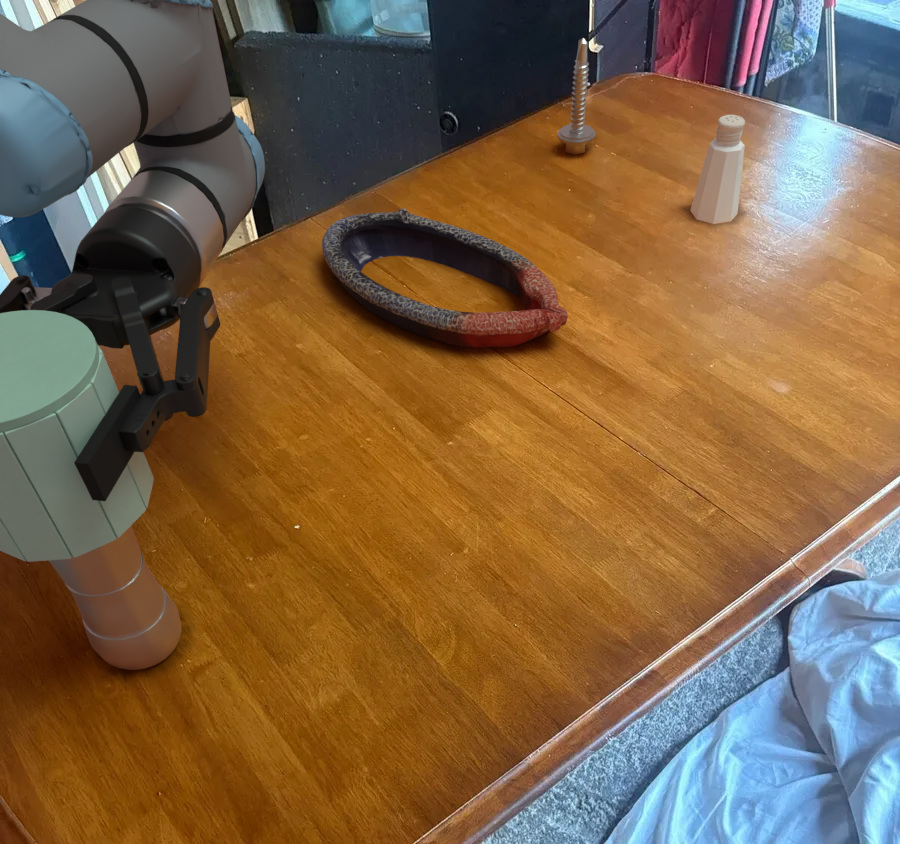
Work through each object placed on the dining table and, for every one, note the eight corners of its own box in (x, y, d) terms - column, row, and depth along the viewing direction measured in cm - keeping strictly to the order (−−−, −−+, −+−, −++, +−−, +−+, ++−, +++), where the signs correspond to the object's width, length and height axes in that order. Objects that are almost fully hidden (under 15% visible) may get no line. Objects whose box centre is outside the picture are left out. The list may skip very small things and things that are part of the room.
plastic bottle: (149, 695, 64) (38, 495, 49) (81, 659, 66) (-45, 457, 51) (206, 632, 68) (120, 427, 52) (140, 599, 70) (38, 394, 54)
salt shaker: (711, 236, 100) (731, 135, 92) (678, 216, 103) (695, 117, 95) (746, 221, 102) (769, 120, 94) (713, 202, 105) (732, 103, 97)
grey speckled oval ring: (390, 227, 104) (385, 185, 101) (601, 324, 91) (606, 280, 87) (289, 284, 98) (281, 241, 94) (501, 399, 84) (502, 354, 80)
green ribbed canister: (-53, 528, 54) (-146, 395, 46) (63, 427, 59) (-2, 293, 52) (74, 583, 51) (-2, 449, 43) (185, 471, 56) (135, 335, 48)
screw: (570, 138, 117) (601, 147, 115) (549, 152, 115) (581, 162, 113) (577, 27, 107) (611, 35, 105) (554, 40, 105) (589, 48, 103)
